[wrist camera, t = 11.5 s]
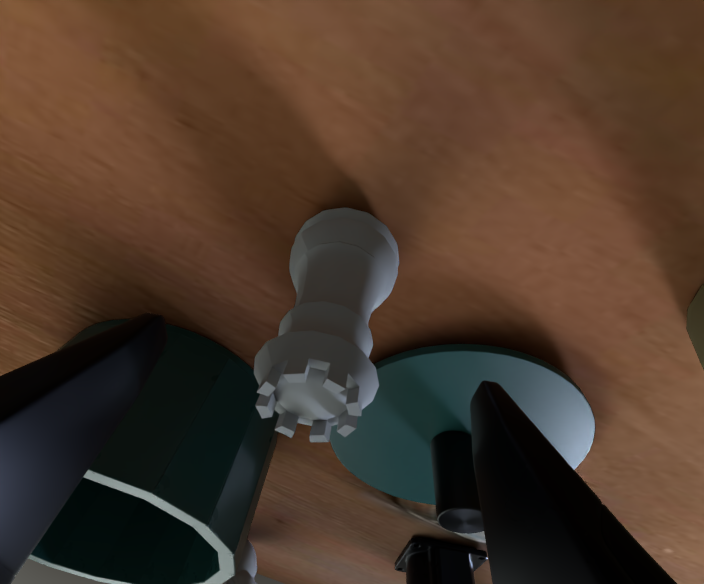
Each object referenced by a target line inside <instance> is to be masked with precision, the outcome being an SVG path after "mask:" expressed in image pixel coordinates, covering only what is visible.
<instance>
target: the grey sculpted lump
mask: <svg viewBox="0 0 704 584" xmlns="http://www.w3.org/2000/svg"><path fill="white" fill-rule="evenodd" d="M256 572H257V563H256V553H255V550H254V547H253V545H252V544H251V543H250V541H249V540H248V539H246V543H245V546H244V549H243V552H242V556H241V559H240V562H239V565H238V568H237V572H236V574H235V575H234V576H232V577H231V578H230V579H228V580H227V581H225V582H224V583H222V584H257V583H256V581H255V580H254V577H255V574H256Z"/></svg>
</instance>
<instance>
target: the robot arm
mask: <svg viewBox="0 0 704 584" xmlns="http://www.w3.org/2000/svg"><path fill="white" fill-rule="evenodd" d="M167 340H168V336H167V330H166V325H165V319H164V317H163V316H162V315H159V314H154V313H145V314H142V315H140V316H137V317H135V318H133V319H131V320H128V321H126V322H124V323H121V324H119V325H117V326H114V327H112V328H110V329H108V330H105V331H103V332H101V333H98V334H96V335H94V336H91V337H89V338H87V339H85V340H82V341H80V342H78V343H75V344H73V345H71V346H68V347H66V348H64V349H61V350H59V351H57V352H55V353H52V354H50V355H48V356H45V357H43V358H41V359H38V360H36V361H34V362H32V363H29V364H27V365H25V366H22V367H20V368H18V369H15V370H13V371H11V372H9V373H6V374H4V375H2V376H0V584H11V583H12V581H13V580H14V578H15V575H17V573H18V572H19V570H20V569H21V568H22V566H23V565H24V563H25V562H26V560H27V559H28V557H29V556H30V554H31V553H32V551H33V550H34V549H35V547H36V546H37V544H38V543H39V541H40V540H41V538H42V537H43V535H44V534H45V532H46V531H47V529H48V528H49V527H50V525H51V524H52V522H53V521H54V519H55V518H56V516H57V515H58V513H59V512H60V510H61V509H62V507H63V506H64V505H65V503H66V502H67V500H68V499H69V497H70V496H71V494H72V493H73V491H74V490H75V488H76V487H77V485H78V484H79V483H80V481H81V480H82V478H83V477H84V475H85V474H86V472H87V471H88V469H89V468H90V466H91V465H92V463H93V462H94V461H95V459H96V458H97V456H98V455H99V453H100V452H101V450H102V449H103V447H104V446H105V444H106V443H107V441H108V440H109V439H110V437H111V436H112V434H113V433H114V431H115V430H116V428H117V427H118V425H119V424H120V422H121V421H122V419H123V418H124V417H125V415H126V414H127V412H128V411H129V409H130V408H131V406H132V405H133V403H134V402H135V400H136V399H137V397H138V396H139V394H140V393H141V391H142V389H143V387H144V386H145V384H146V382H147V380H148V378H149V376H150V374H151V372H152V371H153V369H154V367H155V365H156V363H157V361H158V359H159V357H160V356H161V354H162V352H163V350H164V348H165V346H166V344H167ZM470 413H471V434H472V453H473V463H474V470H475V476H476V482H477V489H478V495H479V501H480V507H481V514H482V520H483V526H484V532H485V539H486V545H487V551H488V557H489V563H490V570H491V576H492V582H493V584H677V583H676V582H675V581H674V580H673V579H672V578H671V577H670V576H669V575H668V574H667V573H666V572H665V571H664V570H663V569H662V567H661V566H660V565H659V564H658V563H657V562H656V561H655V560H654V559H653V558H652V557H651V556H650V555H649V554H648V553H647V552H646V551H645V550H644V548H643V547H642V546H641V545H640V544H639V543H638V542H637V541H636V540H635V539H634V538H633V536H632V535H631V534H630V533H629V532H628V531H627V530H626V529H625V528H624V526H623V525H622V524H621V523H620V522H619V521H618V520H617V519H616V517H615V516H614V515H613V514H612V513H611V512H610V511H609V509H608V508H607V507H606V506H605V505H604V504H602V502H601V500H600V499H599V498H598V497H597V496H596V495H595V493H594V492H593V491H592V490H591V489H590V488H589V487H588V485H587V484H586V483H585V482H584V481H583V480H582V478H581V477H580V476H579V475H578V474H577V473H576V472H575V470H574V469H573V468H572V467H571V466H570V465H569V464H568V462H567V461H566V460H565V459H564V458H563V457H562V455H561V454H560V453H559V452H558V451H557V450H556V449H555V447H554V446H553V445H552V444H551V443H550V442H549V441H548V439H547V438H546V437H545V436H544V435H543V434H542V433H541V431H540V430H539V429H538V428H537V427H536V426H535V424H534V423H533V422H532V421H531V420H530V419H529V418H528V416H527V415H526V414H525V413H524V412H523V411H522V410H521V408H520V407H519V406H518V405H517V404H516V403H515V401H514V400H513V399H512V398H511V397H510V396H509V395H508V393H507V392H506V391H505V390H504V389H503V388H502V387H501V385H500V384H498V383H496V382H491V381H486V380H484V381H482V382H481V383H480V385H479V387H478V388H477V390H476V392H475V393H474V395H473V397H472V399H471V403H470ZM486 560H487V553H486V552H485V551H483V550H478V549H472V548H467V547H462V546H457V545H452V544H447V543H442V542H437V541H431V540H426V539H421V538H412V539H411V540H410V541H409V543H408V544H407V546H406V547H405V549H404V550H403V552H402V553H401V555H400V556H399V558H398V559H397V561H396V562H395V570H397V571H401V572H406V583H407V584H475V579H474V571H475V570H476V569H477V568H478V567H480V566H481V565H482V564H483V563H484V562H485V561H486Z"/></svg>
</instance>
